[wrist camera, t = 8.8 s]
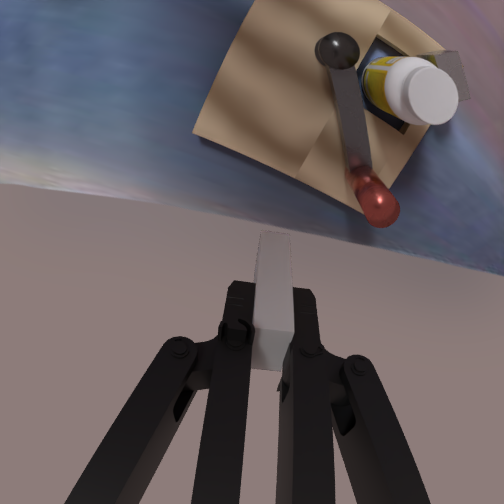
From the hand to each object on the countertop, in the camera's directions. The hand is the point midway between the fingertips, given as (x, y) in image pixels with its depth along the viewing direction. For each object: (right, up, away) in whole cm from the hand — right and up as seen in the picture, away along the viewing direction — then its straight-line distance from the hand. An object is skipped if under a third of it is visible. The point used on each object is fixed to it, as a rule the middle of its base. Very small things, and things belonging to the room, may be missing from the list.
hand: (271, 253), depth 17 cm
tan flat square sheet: (+7, +17, +11) cm, 22 cm away
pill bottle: (+13, +18, +10) cm, 24 cm away
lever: (+8, +14, +10) cm, 19 cm away
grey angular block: (+18, +20, +8) cm, 28 cm away
